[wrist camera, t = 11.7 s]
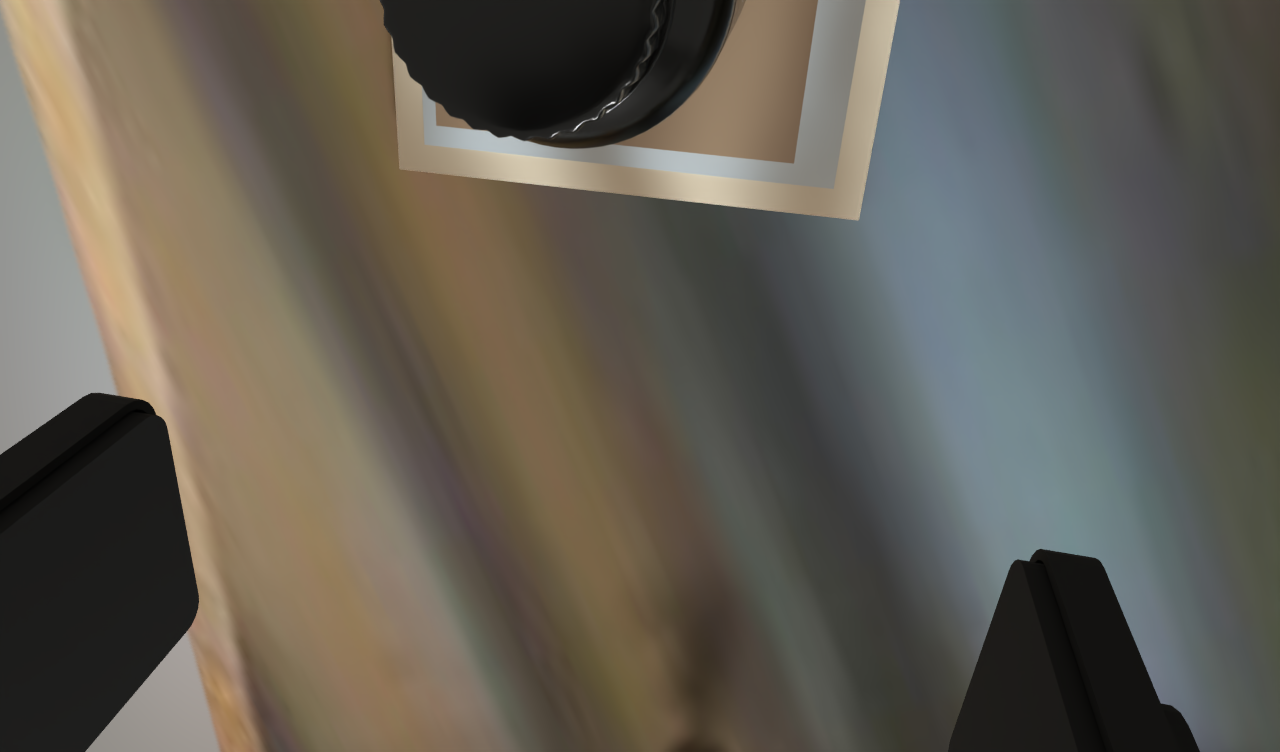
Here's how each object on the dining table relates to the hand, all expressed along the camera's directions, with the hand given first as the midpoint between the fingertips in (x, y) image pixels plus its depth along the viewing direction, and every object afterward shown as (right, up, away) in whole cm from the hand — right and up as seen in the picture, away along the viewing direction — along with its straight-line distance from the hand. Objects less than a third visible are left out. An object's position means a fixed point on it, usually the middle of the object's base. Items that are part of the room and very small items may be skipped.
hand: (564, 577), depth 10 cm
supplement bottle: (+1, +14, +16) cm, 21 cm away
